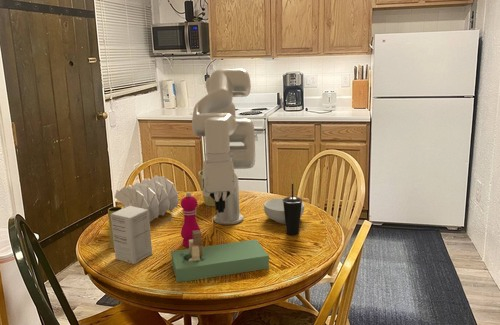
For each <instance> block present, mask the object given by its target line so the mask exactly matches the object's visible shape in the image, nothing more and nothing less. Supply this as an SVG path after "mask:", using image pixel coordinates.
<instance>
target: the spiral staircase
mask: <svg viewBox="0 0 500 325" xmlns="http://www.w3.org/2000/svg"><path fill="white" fill-rule="evenodd" d="M178 194H179V192H178V190H177V189H176V187H175V185H174V182H172V181H170V180H169V179H168V178H166V176H158V174H155V175H154V176H152V177H151V179H150V177H149V178H146V177H145V178H144V179H143V180H141V182H136V183H134V184H133V185H131V184H129V185H128V186H127V185H125V186H123V187H122V188H121V189H118V188H117V189H116V192H115V195H114V198H115V199H116V200H117V201H118V202H120V203H121V204H123V207H122V209H124V208H126V207H128V206H133V207H138V208H143V209H147V210H148V211H149V223H151V222H153V220H155V219H158V218H159V216H160V215H161V216H165V214H166V213H167V211H169V212H170V213H172V212H173V211H174V210H175V209H176V208H178V206H179V200H180V199H179V197H178V196H179V195H178Z"/></svg>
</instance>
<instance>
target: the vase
mask: <svg viewBox="0 0 500 325" xmlns="http://www.w3.org/2000/svg"><path fill="white" fill-rule="evenodd" d="M121 209H123V207H122V206H112V207H111V206H110V207H109V208H108V209H107V218H108V230H109V232H108V233H109V244H110V245H109V246H110V248H112V249H114V241H113V232H112V222H111V214H112V213H114V212H117V211H119V210H121Z"/></svg>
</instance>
